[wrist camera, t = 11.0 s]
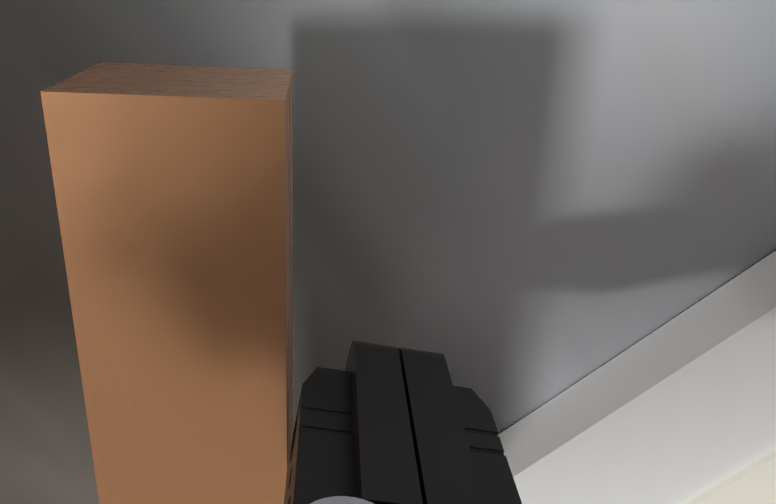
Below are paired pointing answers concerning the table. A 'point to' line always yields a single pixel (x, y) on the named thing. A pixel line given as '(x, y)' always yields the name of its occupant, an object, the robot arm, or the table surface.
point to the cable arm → (180, 275)
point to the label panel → (666, 413)
